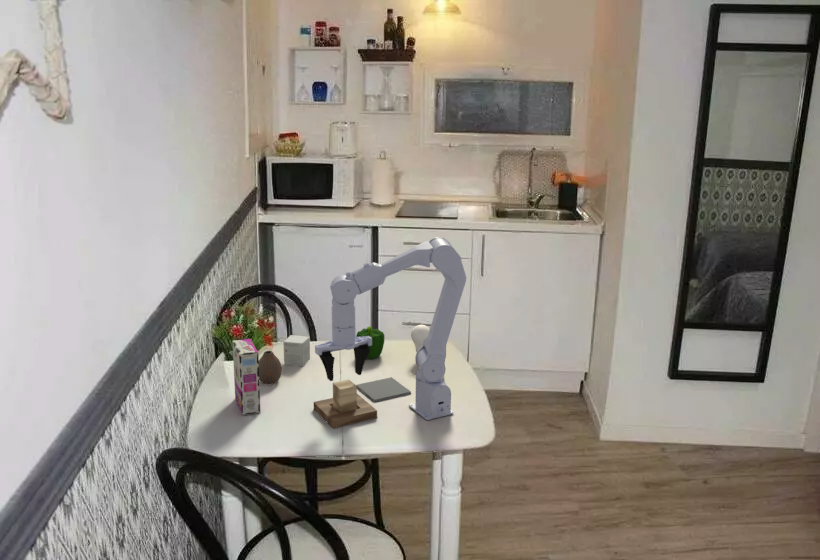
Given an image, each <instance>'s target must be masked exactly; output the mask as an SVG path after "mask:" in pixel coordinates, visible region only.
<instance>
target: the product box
mask: <svg viewBox="0 0 820 560" xmlns="http://www.w3.org/2000/svg"><path fill="white" fill-rule="evenodd" d="M310 342H311V338H310V336H303V335H295V334H291V335H288V337H287V338H286V339H285V340H284V341H283V365H285V366H295V367H304V366H306V364H307V363H308V362H309V361H310V359H311V343H310Z"/></svg>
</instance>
